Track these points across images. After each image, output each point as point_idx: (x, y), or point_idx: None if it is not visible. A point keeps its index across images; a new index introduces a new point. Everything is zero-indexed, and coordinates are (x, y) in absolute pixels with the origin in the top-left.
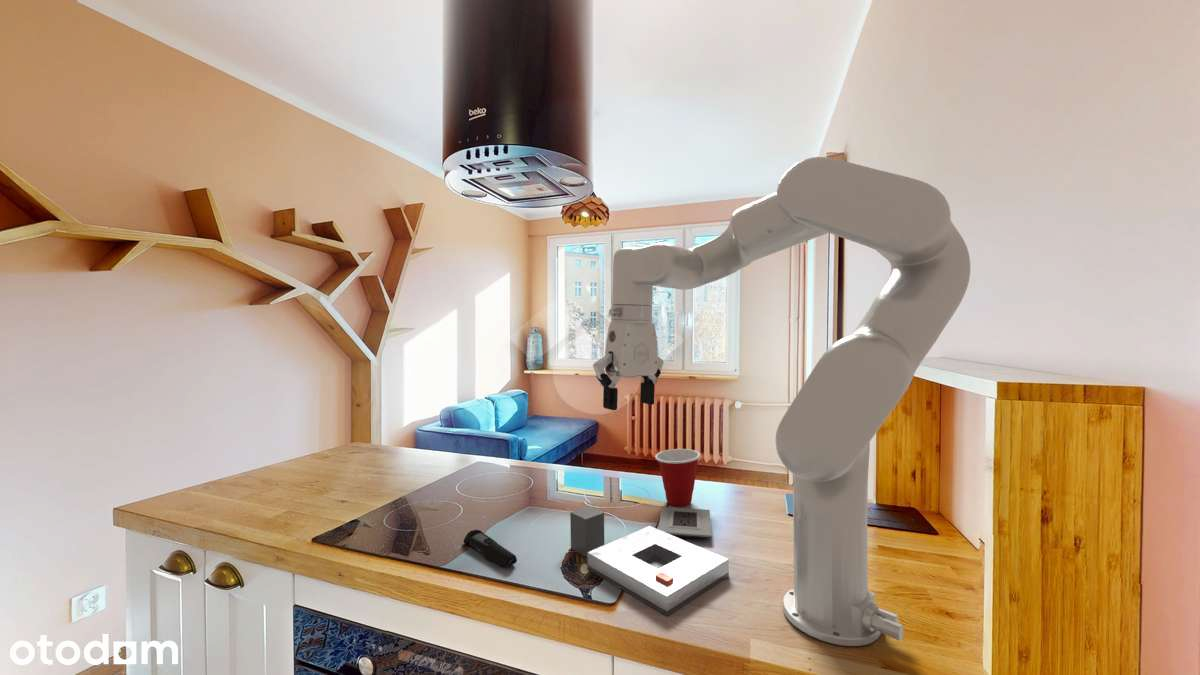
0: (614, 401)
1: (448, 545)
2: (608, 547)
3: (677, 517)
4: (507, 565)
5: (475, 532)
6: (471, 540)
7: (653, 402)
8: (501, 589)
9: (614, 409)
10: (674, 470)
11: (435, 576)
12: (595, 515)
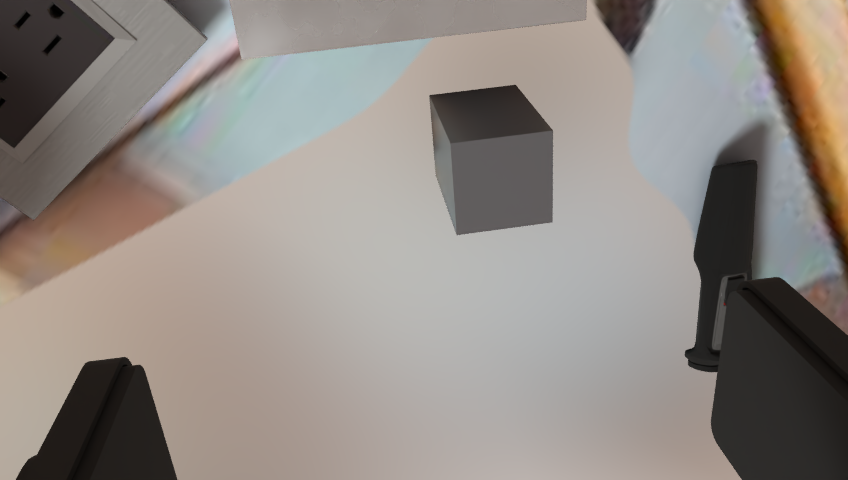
0: (836, 331)
1: None
2: (502, 3)
3: (41, 87)
4: (747, 160)
5: None
6: None
7: (93, 369)
8: (817, 67)
9: (774, 279)
10: None
11: None
12: (497, 139)
